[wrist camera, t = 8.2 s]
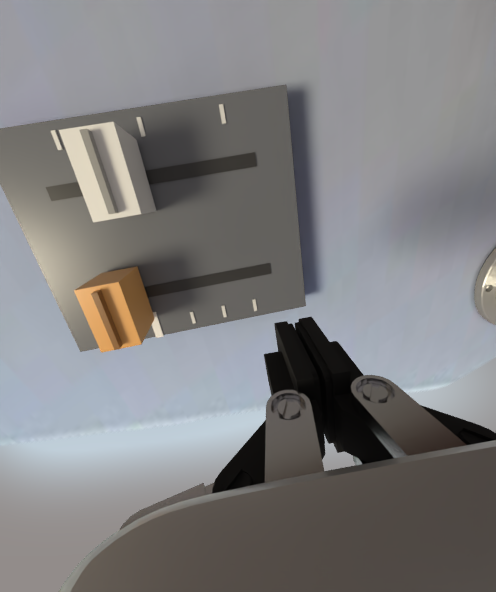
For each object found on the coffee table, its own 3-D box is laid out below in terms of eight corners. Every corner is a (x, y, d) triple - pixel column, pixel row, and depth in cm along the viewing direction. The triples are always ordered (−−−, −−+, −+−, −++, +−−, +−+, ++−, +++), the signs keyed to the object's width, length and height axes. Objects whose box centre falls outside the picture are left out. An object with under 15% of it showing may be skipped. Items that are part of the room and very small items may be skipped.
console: (278, 97, 21) (286, 83, 19) (298, 298, 27) (306, 307, 25) (2, 140, 20) (-26, 131, 17) (92, 339, 26) (80, 353, 24)
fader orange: (137, 266, 22) (115, 284, 17) (154, 318, 23) (139, 348, 19) (101, 273, 21) (69, 293, 17) (121, 325, 23) (97, 356, 18)
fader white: (136, 139, 18) (109, 118, 14) (156, 211, 20) (138, 214, 15) (94, 146, 18) (52, 127, 14) (118, 218, 20) (88, 223, 15)
